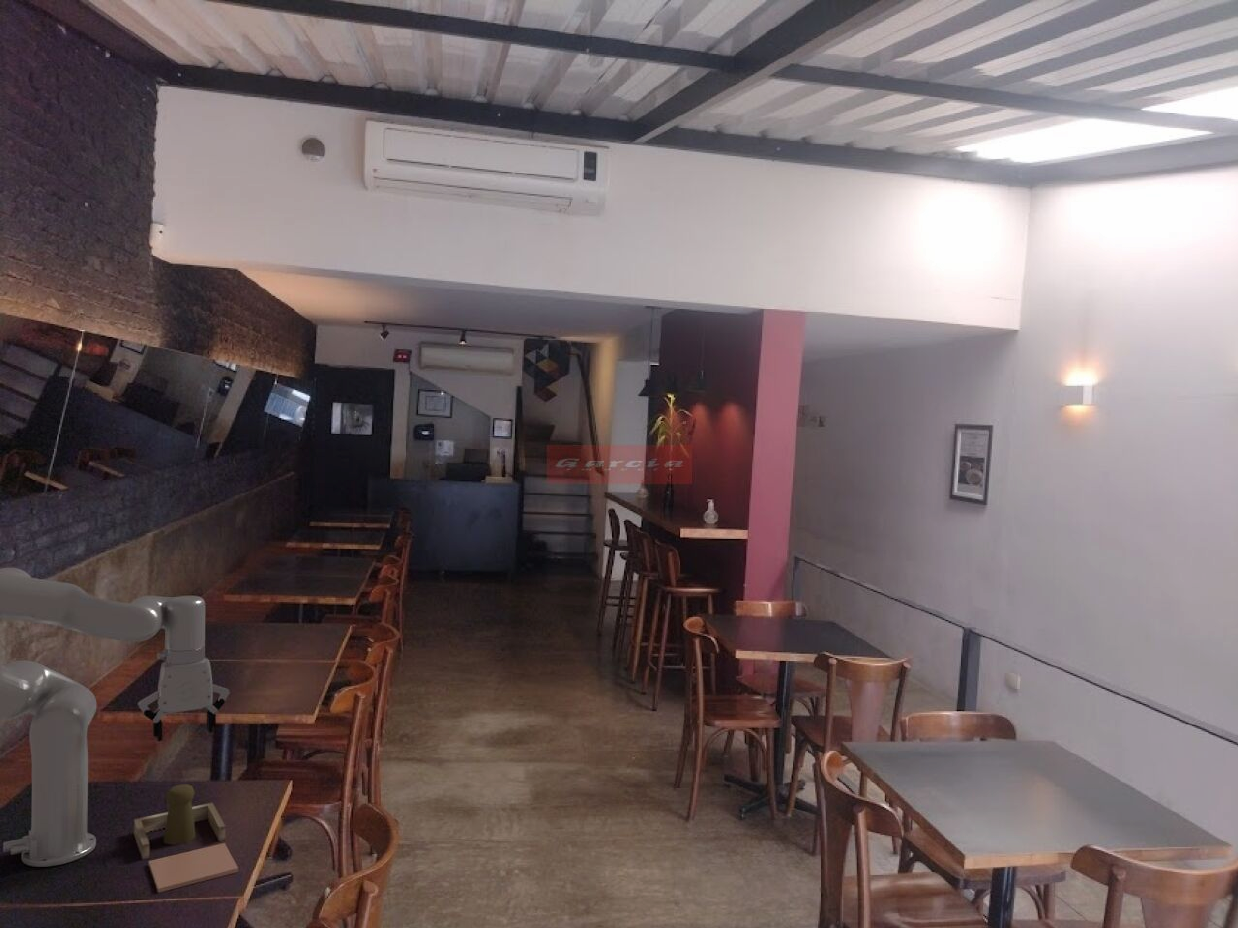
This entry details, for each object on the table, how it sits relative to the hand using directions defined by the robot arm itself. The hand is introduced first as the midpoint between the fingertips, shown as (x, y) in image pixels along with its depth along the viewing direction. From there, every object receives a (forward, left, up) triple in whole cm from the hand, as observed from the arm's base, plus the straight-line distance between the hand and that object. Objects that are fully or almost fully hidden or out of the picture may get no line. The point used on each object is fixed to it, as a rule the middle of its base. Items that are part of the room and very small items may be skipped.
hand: (184, 734), depth 179 cm
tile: (-1, -16, -22) cm, 27 cm away
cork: (-1, -1, -22) cm, 22 cm away
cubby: (-1, -1, -22) cm, 22 cm away
